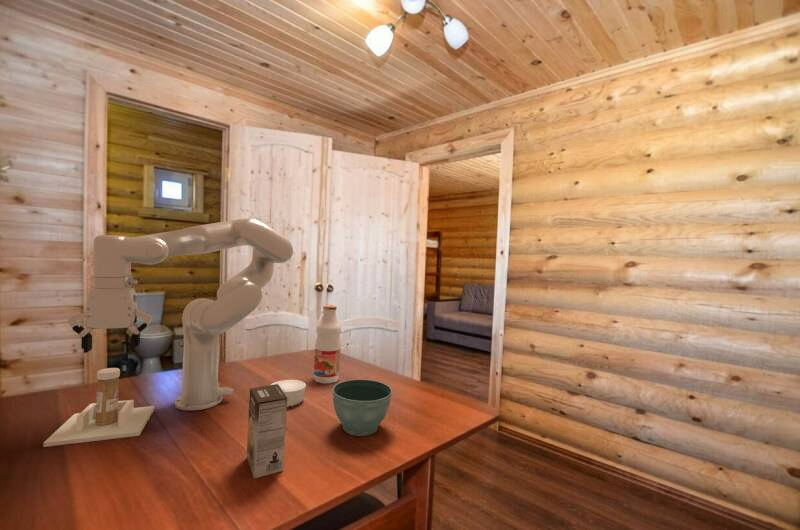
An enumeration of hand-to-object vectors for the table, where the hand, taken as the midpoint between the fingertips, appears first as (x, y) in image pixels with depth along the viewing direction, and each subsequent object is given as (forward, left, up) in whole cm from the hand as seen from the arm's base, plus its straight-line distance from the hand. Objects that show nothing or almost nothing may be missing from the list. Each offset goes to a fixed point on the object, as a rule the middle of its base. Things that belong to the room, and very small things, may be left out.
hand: (111, 349), depth 92 cm
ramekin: (-44, -4, -20) cm, 49 cm away
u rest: (0, 0, -20) cm, 20 cm away
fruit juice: (-61, -21, -20) cm, 67 cm away
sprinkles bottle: (0, 0, -19) cm, 19 cm away
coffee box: (-37, +30, -20) cm, 51 cm away
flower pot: (-62, +20, -20) cm, 68 cm away
